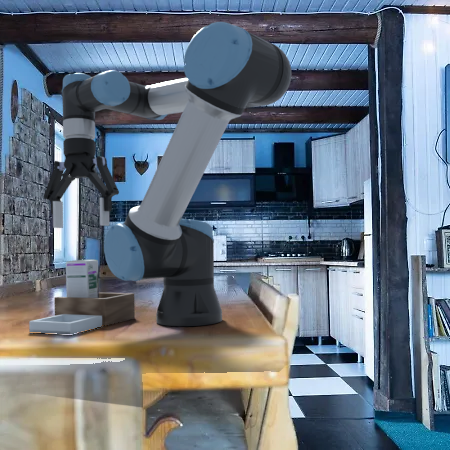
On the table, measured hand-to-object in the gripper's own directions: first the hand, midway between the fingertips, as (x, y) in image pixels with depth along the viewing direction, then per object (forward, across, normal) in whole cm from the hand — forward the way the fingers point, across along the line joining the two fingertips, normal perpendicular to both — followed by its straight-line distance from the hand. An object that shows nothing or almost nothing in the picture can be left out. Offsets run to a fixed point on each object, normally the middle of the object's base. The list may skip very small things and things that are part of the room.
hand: (81, 226), depth 120 cm
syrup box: (+23, 0, 0) cm, 23 cm away
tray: (+23, -5, +12) cm, 26 cm away
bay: (+22, -3, 0) cm, 23 cm away
